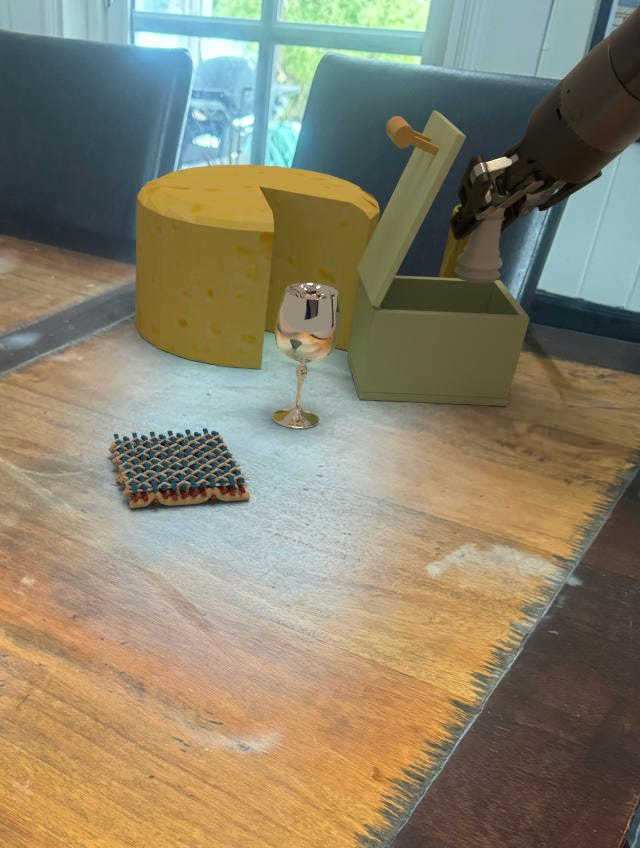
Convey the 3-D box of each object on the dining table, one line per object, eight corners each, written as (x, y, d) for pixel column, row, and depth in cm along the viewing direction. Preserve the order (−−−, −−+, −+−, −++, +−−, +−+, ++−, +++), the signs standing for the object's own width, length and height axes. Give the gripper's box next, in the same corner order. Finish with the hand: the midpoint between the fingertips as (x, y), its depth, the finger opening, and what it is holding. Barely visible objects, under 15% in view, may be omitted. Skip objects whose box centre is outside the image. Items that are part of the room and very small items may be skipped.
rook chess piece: (507, 277, 92) (529, 189, 87) (486, 287, 89) (508, 196, 84) (465, 267, 94) (484, 180, 89) (444, 276, 92) (462, 187, 87)
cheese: (345, 382, 97) (369, 229, 88) (105, 350, 102) (104, 202, 93) (370, 304, 117) (392, 172, 108) (168, 280, 122) (173, 153, 113)
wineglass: (319, 436, 87) (338, 305, 80) (259, 425, 89) (272, 296, 81) (331, 411, 92) (350, 285, 84) (273, 402, 93) (287, 277, 86)
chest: (480, 362, 103) (500, 279, 98) (506, 406, 94) (530, 318, 88) (346, 356, 103) (359, 273, 98) (359, 399, 94) (374, 311, 89)
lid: (440, 113, 89) (393, 91, 88) (466, 136, 79) (414, 112, 78) (363, 270, 98) (319, 252, 97) (378, 308, 88) (330, 288, 88)
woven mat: (126, 513, 75) (126, 491, 74) (106, 453, 83) (106, 432, 82) (252, 504, 77) (254, 481, 76) (220, 446, 85) (222, 425, 84)
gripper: (656, 61, 77) (519, 189, 93) (518, 64, 73) (399, 198, 89) (683, 146, 77) (541, 260, 93) (545, 153, 72) (421, 272, 88)
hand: (472, 229), depth 91 cm, fingers closed on rook chess piece, 3 cm apart
